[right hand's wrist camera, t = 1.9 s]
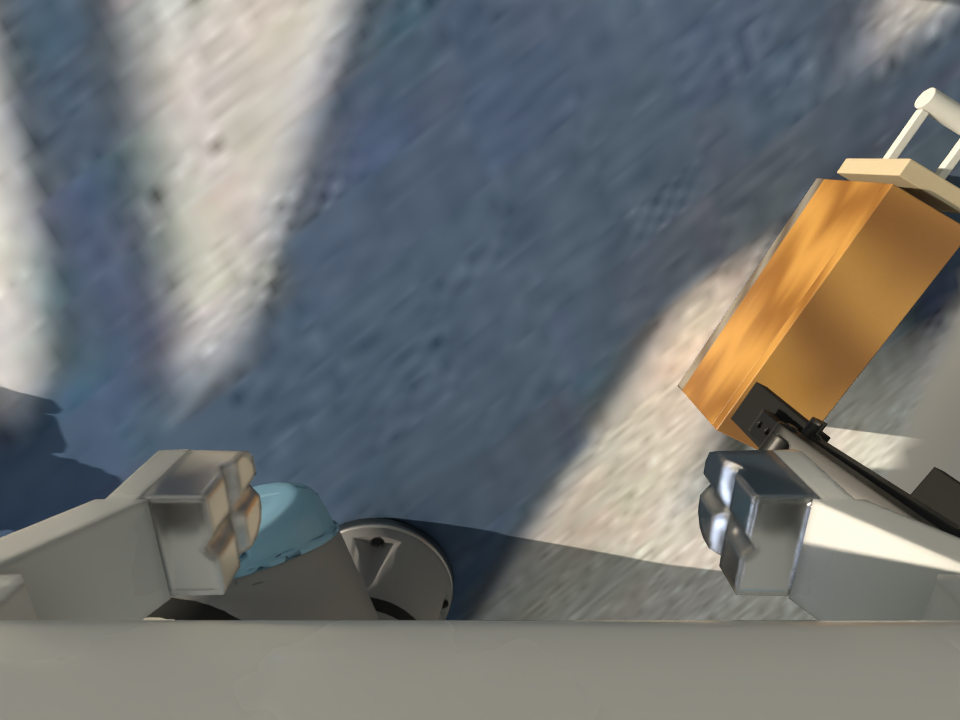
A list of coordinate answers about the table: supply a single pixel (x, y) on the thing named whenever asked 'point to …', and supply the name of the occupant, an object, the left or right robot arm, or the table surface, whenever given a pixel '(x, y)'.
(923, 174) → the drawer
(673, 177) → the table surface
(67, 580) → the right robot arm
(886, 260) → the cabinet
